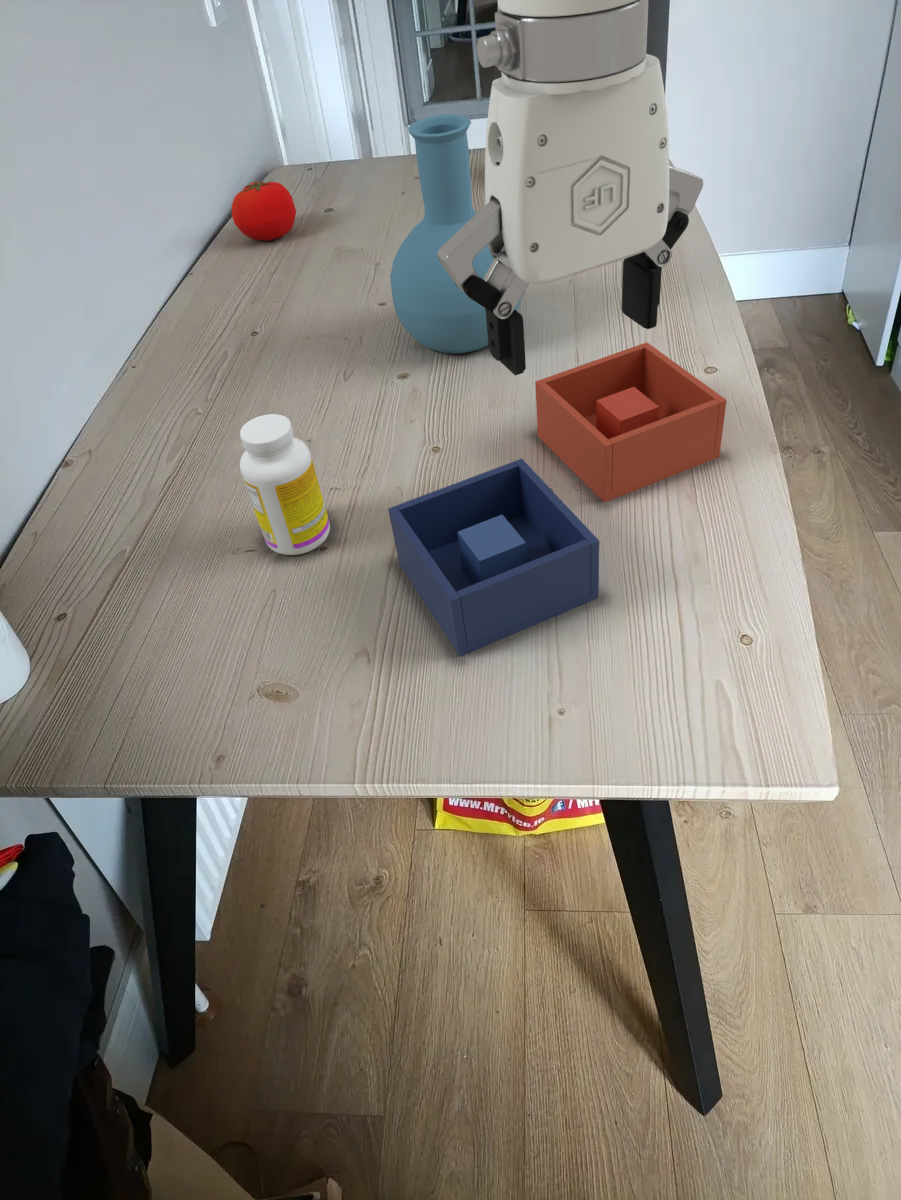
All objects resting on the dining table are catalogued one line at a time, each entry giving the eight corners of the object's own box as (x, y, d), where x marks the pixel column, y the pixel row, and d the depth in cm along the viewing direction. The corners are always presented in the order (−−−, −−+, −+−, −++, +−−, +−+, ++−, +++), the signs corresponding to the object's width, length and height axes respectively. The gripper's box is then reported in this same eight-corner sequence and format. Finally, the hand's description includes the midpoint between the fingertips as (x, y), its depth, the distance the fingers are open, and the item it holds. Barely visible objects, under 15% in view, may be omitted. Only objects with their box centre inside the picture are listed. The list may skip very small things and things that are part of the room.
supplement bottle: (340, 517, 89) (312, 409, 80) (318, 561, 85) (286, 452, 76) (280, 512, 91) (246, 405, 82) (255, 555, 87) (216, 447, 78)
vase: (375, 357, 111) (335, 148, 94) (434, 297, 121) (408, 97, 104) (494, 376, 105) (476, 155, 87) (545, 311, 115) (538, 101, 97)
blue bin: (525, 514, 86) (521, 458, 82) (598, 598, 77) (599, 540, 72) (399, 563, 83) (387, 508, 79) (459, 657, 74) (451, 601, 69)
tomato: (312, 231, 142) (300, 178, 136) (259, 255, 138) (245, 200, 132) (280, 219, 148) (267, 166, 142) (228, 241, 143) (213, 188, 137)
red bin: (643, 396, 99) (646, 341, 94) (719, 457, 89) (726, 399, 85) (537, 436, 96) (534, 381, 91) (604, 502, 86) (605, 445, 82)
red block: (632, 423, 94) (634, 386, 91) (656, 443, 91) (659, 406, 88) (596, 436, 93) (596, 400, 90) (619, 458, 90) (620, 420, 87)
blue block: (505, 551, 82) (502, 514, 79) (528, 580, 79) (526, 542, 76) (462, 568, 81) (457, 531, 78) (483, 598, 78) (479, 561, 75)
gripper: (452, 97, 41) (482, 411, 53) (757, 16, 45) (721, 326, 57) (392, 65, 46) (432, 358, 58) (671, -5, 50) (654, 283, 62)
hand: (575, 342), depth 57 cm, fingers open, 9 cm apart
